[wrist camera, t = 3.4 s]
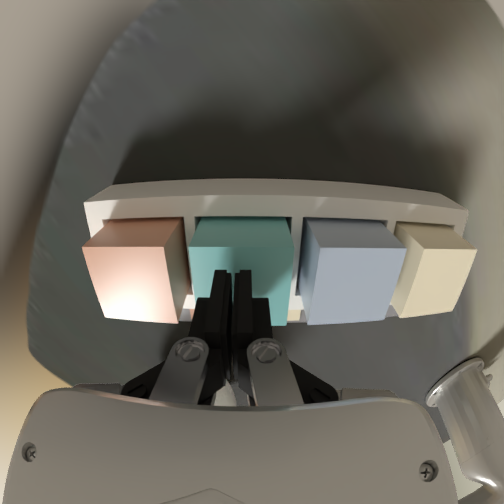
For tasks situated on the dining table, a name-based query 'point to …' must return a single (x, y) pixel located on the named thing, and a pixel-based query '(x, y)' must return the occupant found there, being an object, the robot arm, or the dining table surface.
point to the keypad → (271, 210)
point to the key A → (140, 268)
